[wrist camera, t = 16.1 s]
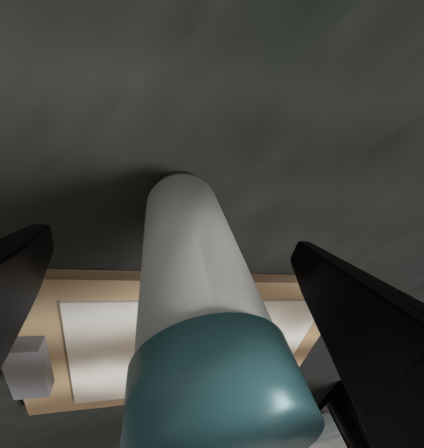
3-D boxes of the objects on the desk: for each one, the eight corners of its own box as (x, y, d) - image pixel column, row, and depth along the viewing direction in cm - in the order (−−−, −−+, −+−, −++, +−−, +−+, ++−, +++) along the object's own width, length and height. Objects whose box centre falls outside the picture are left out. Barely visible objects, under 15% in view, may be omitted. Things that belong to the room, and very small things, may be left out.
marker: (206, 227, 14) (283, 474, 5) (143, 222, 13) (115, 509, 4) (220, 168, 12) (361, 393, 4) (147, 157, 11) (118, 423, 3)
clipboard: (282, 378, 25) (290, 398, 24) (33, 403, 19) (22, 431, 18) (346, 275, 18) (363, 294, 17) (-11, 267, 12) (-34, 294, 11)
